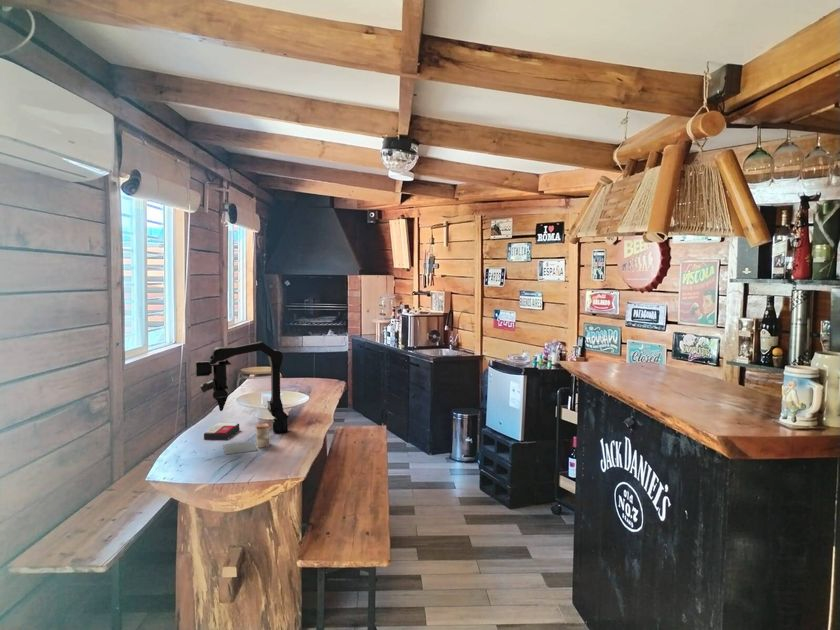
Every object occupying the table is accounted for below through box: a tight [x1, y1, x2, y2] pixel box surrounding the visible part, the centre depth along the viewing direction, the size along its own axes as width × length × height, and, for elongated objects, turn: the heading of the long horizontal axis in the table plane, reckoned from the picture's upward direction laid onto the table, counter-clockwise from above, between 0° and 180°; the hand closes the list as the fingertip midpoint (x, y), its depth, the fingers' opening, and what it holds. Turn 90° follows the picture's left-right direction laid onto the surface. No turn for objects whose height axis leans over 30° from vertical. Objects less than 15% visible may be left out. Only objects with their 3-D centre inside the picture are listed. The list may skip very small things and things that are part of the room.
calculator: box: [203, 422, 240, 441], centre depth 251 cm, size 11×4×15 cm
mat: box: [222, 440, 259, 455], centre depth 232 cm, size 13×14×1 cm
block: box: [255, 422, 270, 448], centre depth 235 cm, size 5×5×9 cm
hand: (221, 408), depth 243 cm, fingers open, 9 cm apart
